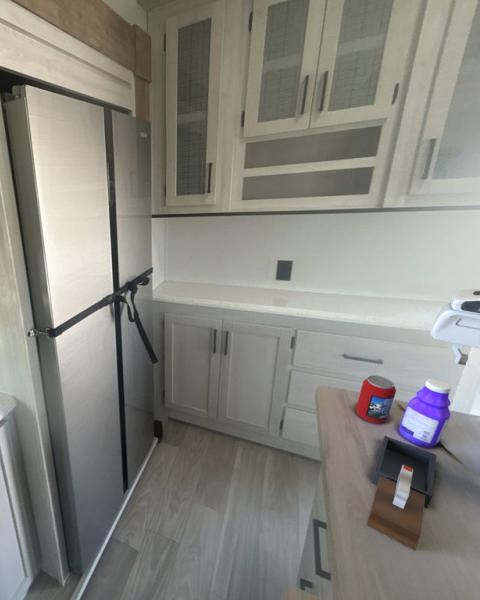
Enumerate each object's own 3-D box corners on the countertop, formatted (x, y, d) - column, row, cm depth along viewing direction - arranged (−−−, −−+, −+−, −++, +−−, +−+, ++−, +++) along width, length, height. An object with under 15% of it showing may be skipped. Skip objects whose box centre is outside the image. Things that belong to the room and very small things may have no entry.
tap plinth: (414, 550, 62) (420, 536, 61) (366, 524, 67) (371, 511, 66) (419, 508, 69) (425, 495, 67) (375, 488, 74) (380, 475, 72)
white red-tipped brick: (403, 509, 65) (409, 494, 64) (392, 503, 66) (398, 489, 65) (408, 482, 70) (413, 468, 69) (397, 478, 71) (403, 463, 70)
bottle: (442, 444, 82) (466, 387, 76) (429, 453, 80) (452, 395, 74) (406, 425, 88) (425, 371, 82) (393, 433, 87) (411, 378, 80)
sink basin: (381, 446, 84) (384, 435, 82) (431, 466, 77) (436, 454, 76) (371, 482, 75) (374, 471, 74) (427, 508, 69) (432, 496, 67)
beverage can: (374, 427, 89) (385, 391, 84) (349, 411, 95) (358, 377, 91) (392, 421, 90) (404, 385, 86) (367, 405, 96) (376, 371, 92)
